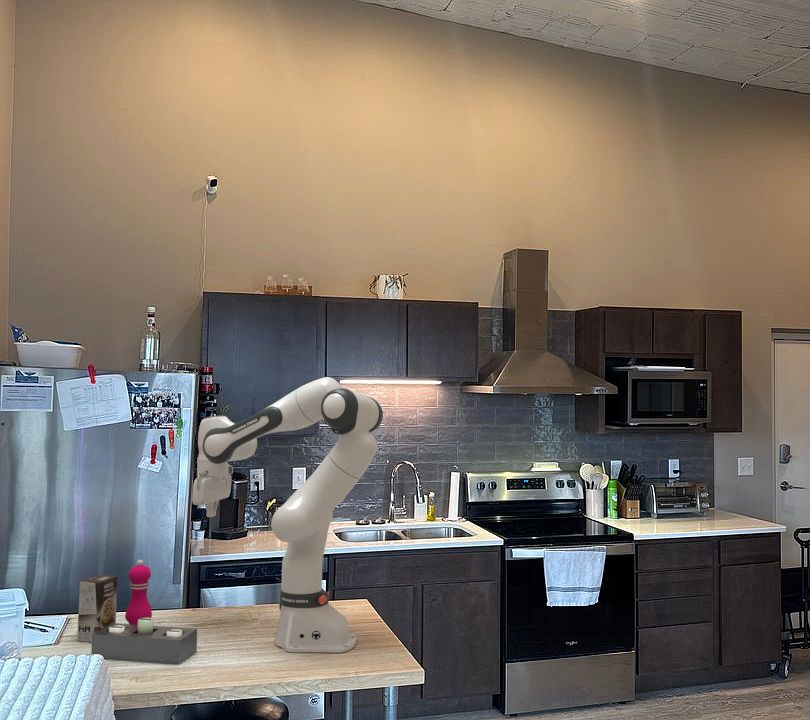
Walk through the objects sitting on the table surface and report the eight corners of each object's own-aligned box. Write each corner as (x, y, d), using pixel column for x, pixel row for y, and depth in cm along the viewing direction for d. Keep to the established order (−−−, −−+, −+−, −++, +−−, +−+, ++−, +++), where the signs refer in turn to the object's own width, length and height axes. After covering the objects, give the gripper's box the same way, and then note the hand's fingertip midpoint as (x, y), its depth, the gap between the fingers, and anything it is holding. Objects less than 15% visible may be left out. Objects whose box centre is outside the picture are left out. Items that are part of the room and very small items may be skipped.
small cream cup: (126, 643, 208) (127, 625, 208) (119, 647, 204) (119, 629, 205) (113, 642, 209) (113, 624, 209) (105, 646, 205) (106, 628, 205)
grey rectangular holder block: (196, 651, 208) (197, 628, 208) (179, 664, 198) (180, 640, 199) (112, 645, 212) (112, 623, 212) (91, 657, 202) (92, 633, 203)
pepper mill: (146, 634, 222) (148, 562, 223) (120, 634, 222) (123, 562, 223) (155, 627, 229) (157, 557, 230) (130, 626, 230) (132, 556, 231)
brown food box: (97, 643, 214) (99, 582, 215) (76, 641, 216) (78, 581, 216) (116, 633, 223) (118, 575, 224) (95, 631, 225) (97, 573, 225)
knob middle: (155, 635, 207) (156, 617, 207) (148, 639, 203) (148, 621, 203) (141, 634, 208) (142, 616, 208) (134, 638, 204) (135, 620, 204)
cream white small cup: (184, 647, 206) (184, 629, 206) (177, 651, 202) (177, 633, 202) (170, 646, 206) (170, 628, 206) (163, 650, 202) (164, 632, 203)
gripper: (208, 473, 226) (206, 522, 226) (235, 467, 246) (234, 512, 246) (187, 472, 227) (185, 521, 227) (216, 466, 248) (214, 511, 247)
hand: (211, 516), depth 236 cm, fingers closed
